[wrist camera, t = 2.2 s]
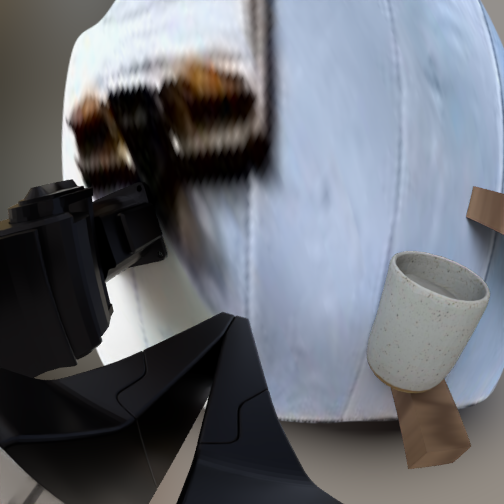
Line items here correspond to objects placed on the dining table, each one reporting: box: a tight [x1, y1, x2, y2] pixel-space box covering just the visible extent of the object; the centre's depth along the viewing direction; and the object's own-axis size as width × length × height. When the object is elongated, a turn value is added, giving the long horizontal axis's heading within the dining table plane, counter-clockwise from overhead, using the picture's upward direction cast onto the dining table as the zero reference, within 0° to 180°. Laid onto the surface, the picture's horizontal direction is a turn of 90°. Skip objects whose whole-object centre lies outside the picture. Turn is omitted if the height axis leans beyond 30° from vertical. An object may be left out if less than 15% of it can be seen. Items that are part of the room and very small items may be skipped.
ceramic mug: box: [367, 251, 490, 393], centre depth 15 cm, size 11×8×8 cm
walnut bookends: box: [391, 186, 504, 469], centre depth 14 cm, size 5×20×10 cm, turn 170°
